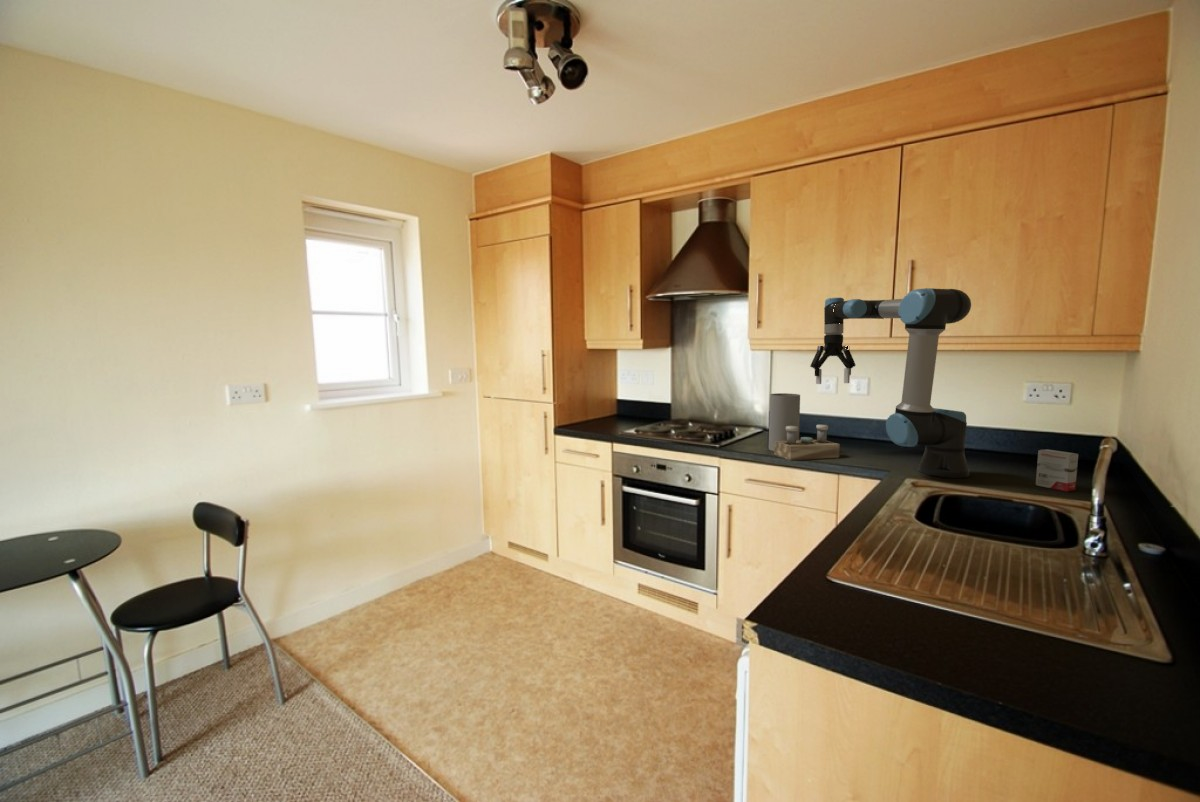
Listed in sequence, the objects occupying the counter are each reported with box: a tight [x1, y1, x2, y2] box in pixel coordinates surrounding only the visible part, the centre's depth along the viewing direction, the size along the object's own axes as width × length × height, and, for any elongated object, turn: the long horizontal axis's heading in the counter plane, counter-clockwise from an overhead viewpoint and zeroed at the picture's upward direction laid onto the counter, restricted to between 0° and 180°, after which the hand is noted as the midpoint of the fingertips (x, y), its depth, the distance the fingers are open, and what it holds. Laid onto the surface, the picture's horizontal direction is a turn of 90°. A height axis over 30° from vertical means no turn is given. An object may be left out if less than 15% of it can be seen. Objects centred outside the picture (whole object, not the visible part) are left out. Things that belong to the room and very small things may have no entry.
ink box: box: [1035, 449, 1079, 492], centre depth 161 cm, size 8×5×12 cm, turn 23°
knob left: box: [786, 426, 798, 445], centre depth 209 cm, size 5×5×8 cm
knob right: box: [815, 424, 829, 443], centre depth 211 cm, size 5×5×8 cm
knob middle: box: [800, 436, 813, 444], centre depth 211 cm, size 5×5×8 cm
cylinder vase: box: [768, 392, 801, 452], centre depth 223 cm, size 12×12×25 cm
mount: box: [773, 438, 841, 461], centre depth 211 cm, size 12×22×6 cm, turn 101°
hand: (832, 383), depth 220 cm, fingers open, 13 cm apart
